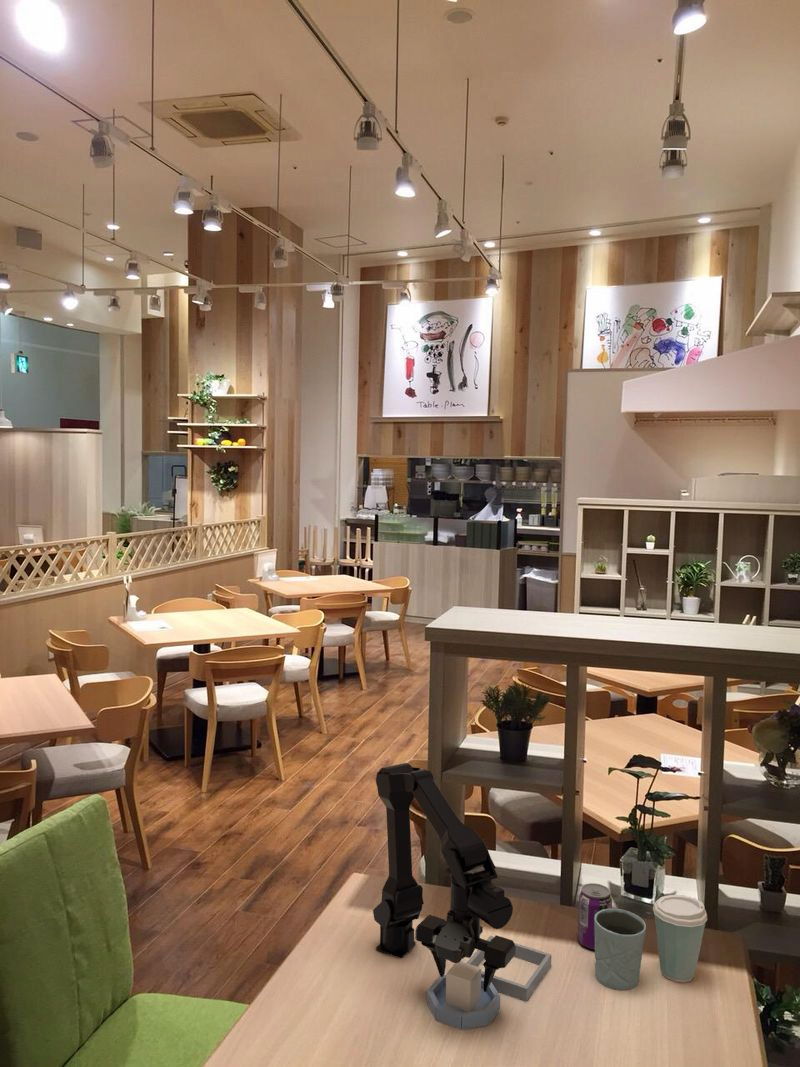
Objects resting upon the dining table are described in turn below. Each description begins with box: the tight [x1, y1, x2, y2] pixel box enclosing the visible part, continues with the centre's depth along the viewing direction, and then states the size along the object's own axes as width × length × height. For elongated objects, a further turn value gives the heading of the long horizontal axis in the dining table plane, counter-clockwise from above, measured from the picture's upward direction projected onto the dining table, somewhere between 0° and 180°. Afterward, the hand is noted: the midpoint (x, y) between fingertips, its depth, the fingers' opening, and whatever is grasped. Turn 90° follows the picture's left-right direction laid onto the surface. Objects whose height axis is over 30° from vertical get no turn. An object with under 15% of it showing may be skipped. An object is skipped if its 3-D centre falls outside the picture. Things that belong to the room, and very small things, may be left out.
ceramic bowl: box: [426, 974, 502, 1031], centre depth 161 cm, size 13×13×2 cm
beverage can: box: [577, 882, 613, 950], centre depth 183 cm, size 7×7×12 cm
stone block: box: [445, 960, 482, 1012], centre depth 160 cm, size 5×5×6 cm
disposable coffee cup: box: [652, 894, 708, 984], centre depth 172 cm, size 11×11×15 cm
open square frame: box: [466, 935, 552, 1002], centre depth 172 cm, size 14×14×2 cm
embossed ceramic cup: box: [594, 908, 647, 991], centre depth 170 cm, size 10×10×12 cm
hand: (463, 983), depth 160 cm, fingers open, 9 cm apart
